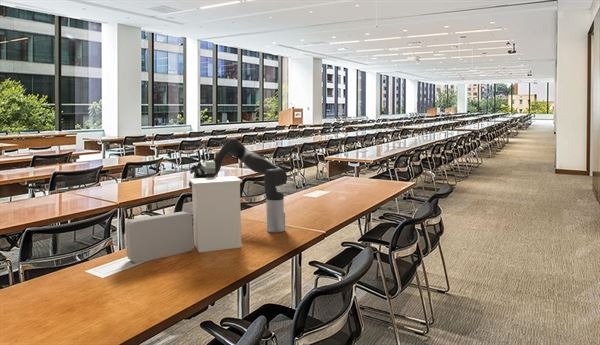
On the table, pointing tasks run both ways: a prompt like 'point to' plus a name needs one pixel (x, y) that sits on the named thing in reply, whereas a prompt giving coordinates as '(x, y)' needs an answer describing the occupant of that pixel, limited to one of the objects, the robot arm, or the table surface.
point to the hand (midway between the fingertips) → (204, 163)
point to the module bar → (208, 166)
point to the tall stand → (216, 213)
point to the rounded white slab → (158, 236)
